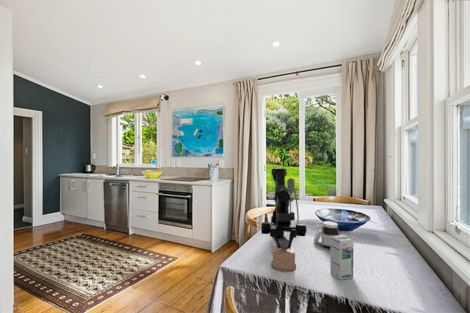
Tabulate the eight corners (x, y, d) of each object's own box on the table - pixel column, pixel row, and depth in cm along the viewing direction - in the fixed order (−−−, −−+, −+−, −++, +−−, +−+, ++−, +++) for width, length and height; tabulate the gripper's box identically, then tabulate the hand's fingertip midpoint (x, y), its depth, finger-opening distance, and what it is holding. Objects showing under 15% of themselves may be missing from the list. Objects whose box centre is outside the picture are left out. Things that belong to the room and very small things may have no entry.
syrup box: (340, 280, 83) (341, 240, 83) (329, 272, 89) (330, 235, 89) (353, 278, 85) (354, 239, 85) (341, 270, 91) (342, 234, 90)
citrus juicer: (281, 220, 160) (282, 177, 159) (294, 219, 163) (294, 177, 162) (290, 225, 149) (290, 179, 149) (303, 224, 152) (304, 178, 152)
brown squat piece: (270, 259, 100) (271, 244, 99) (294, 260, 98) (294, 246, 98) (271, 270, 90) (271, 254, 90) (297, 272, 88) (298, 256, 88)
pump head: (278, 257, 96) (278, 238, 96) (288, 257, 96) (288, 238, 96) (279, 264, 90) (279, 243, 90) (289, 264, 89) (290, 244, 89)
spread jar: (340, 251, 109) (341, 226, 109) (315, 248, 112) (316, 225, 111) (334, 241, 121) (335, 219, 121) (312, 239, 123) (312, 218, 123)
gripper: (261, 203, 99) (260, 238, 88) (306, 205, 96) (311, 241, 86) (261, 217, 107) (260, 250, 96) (302, 219, 104) (306, 253, 93)
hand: (284, 248), depth 92 cm, fingers closed on pump head, 4 cm apart
